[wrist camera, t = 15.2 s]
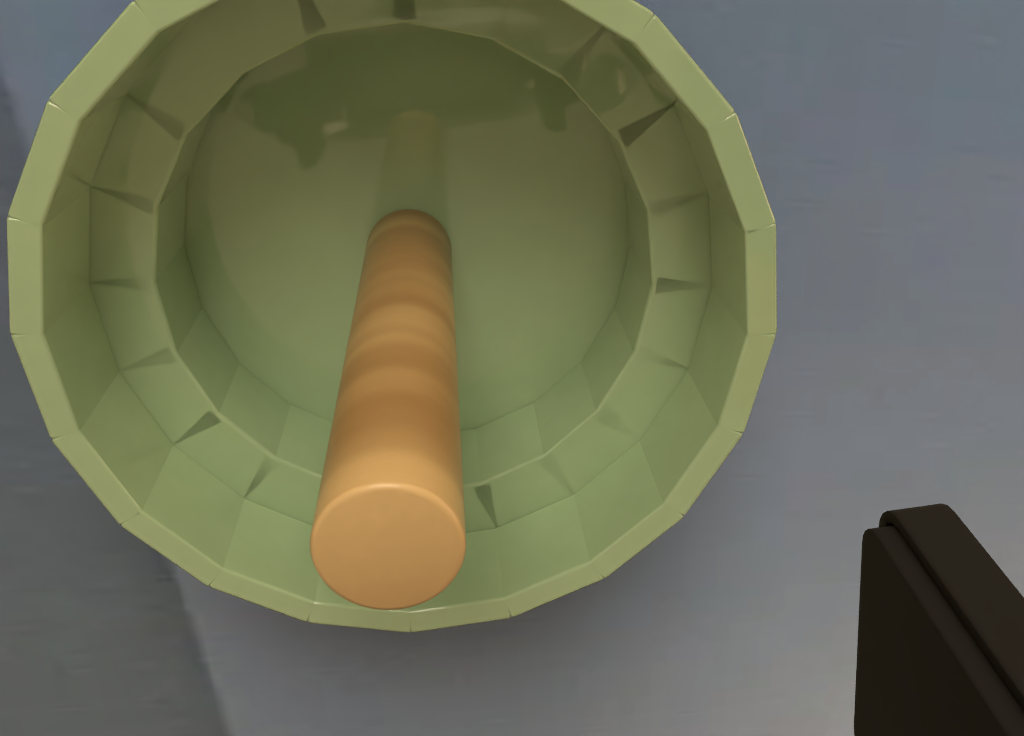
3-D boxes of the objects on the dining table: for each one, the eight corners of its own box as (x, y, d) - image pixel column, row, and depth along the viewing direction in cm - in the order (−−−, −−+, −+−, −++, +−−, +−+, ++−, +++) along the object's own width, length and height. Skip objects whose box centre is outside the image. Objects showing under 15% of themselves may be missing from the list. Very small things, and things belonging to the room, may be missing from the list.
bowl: (114, -152, 20) (-6, -171, 14) (772, -15, 22) (883, 14, 16) (103, 449, 26) (16, 595, 20) (624, 511, 28) (670, 659, 22)
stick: (359, 214, 23) (292, 496, 12) (444, 202, 23) (453, 473, 12) (375, 293, 24) (326, 623, 13) (457, 281, 24) (476, 601, 13)
